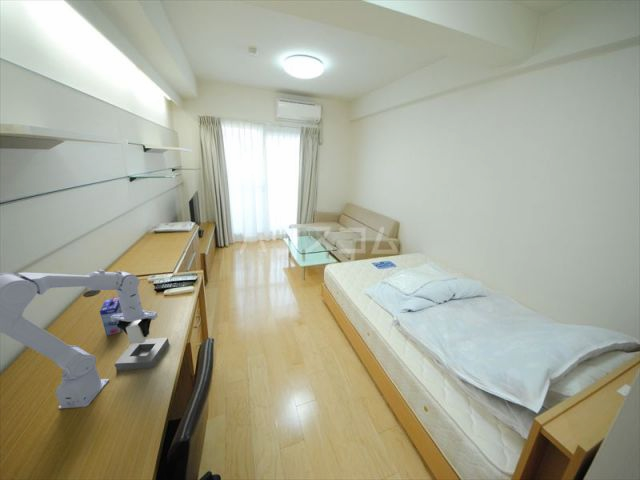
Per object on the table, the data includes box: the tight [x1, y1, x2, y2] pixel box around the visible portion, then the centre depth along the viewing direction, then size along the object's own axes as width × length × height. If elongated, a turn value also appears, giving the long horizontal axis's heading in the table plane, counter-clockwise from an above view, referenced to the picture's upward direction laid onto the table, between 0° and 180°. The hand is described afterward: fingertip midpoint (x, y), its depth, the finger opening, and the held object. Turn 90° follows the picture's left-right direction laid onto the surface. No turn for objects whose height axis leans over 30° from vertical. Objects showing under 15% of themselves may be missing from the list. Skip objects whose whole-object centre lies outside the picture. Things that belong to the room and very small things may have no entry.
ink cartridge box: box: [99, 296, 123, 336], centre depth 104 cm, size 10×6×14 cm, turn 29°
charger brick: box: [126, 319, 151, 345], centre depth 90 cm, size 5×4×7 cm
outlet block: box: [114, 337, 170, 371], centre depth 91 cm, size 12×12×3 cm
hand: (139, 335), depth 90 cm, fingers closed on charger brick, 4 cm apart
